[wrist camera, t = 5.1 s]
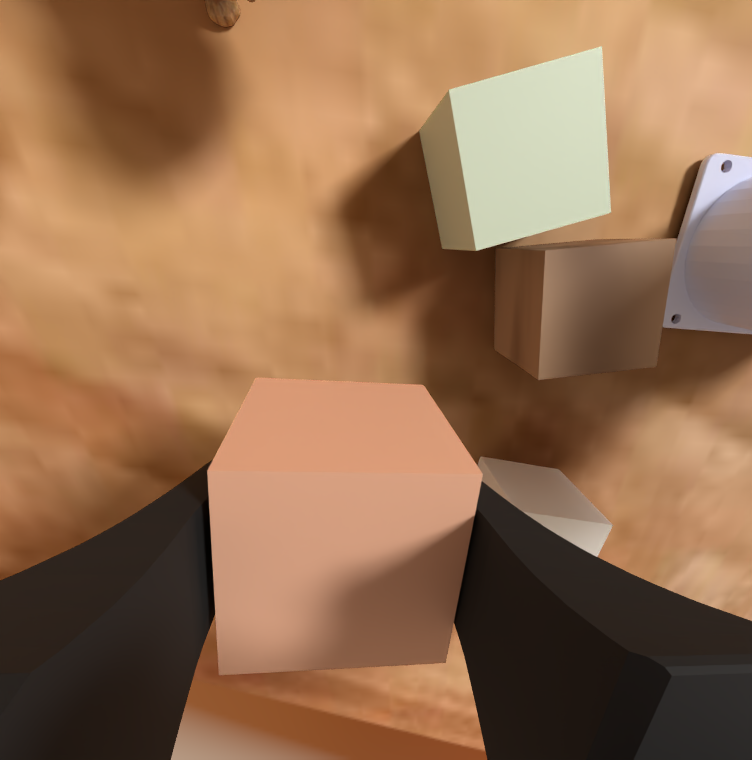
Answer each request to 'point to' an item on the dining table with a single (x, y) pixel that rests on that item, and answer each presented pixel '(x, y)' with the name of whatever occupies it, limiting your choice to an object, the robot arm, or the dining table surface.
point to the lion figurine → (223, 11)
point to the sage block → (519, 153)
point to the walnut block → (582, 305)
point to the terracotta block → (338, 527)
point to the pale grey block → (548, 501)
